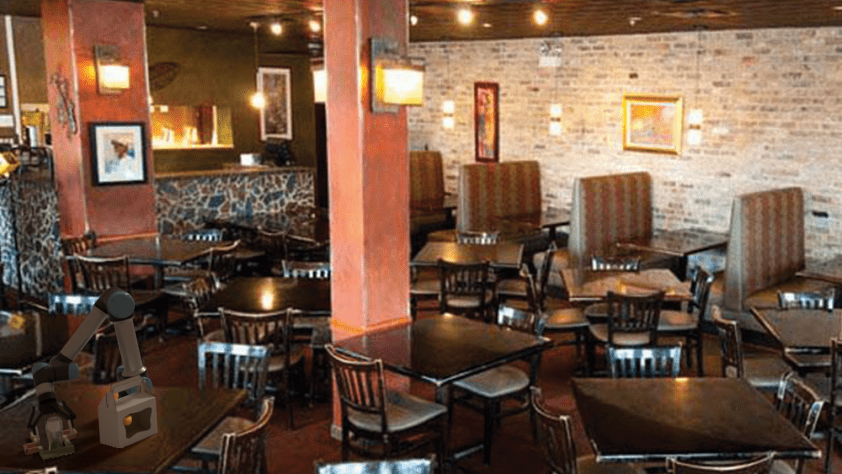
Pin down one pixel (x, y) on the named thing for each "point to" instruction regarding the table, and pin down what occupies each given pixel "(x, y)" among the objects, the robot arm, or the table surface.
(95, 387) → the table surface
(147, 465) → the table surface
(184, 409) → the table surface
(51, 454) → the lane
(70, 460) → the table surface
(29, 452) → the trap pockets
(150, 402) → the gable box
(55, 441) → the beer glass
